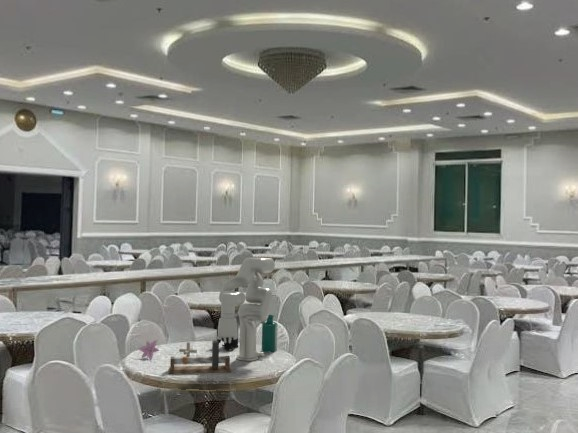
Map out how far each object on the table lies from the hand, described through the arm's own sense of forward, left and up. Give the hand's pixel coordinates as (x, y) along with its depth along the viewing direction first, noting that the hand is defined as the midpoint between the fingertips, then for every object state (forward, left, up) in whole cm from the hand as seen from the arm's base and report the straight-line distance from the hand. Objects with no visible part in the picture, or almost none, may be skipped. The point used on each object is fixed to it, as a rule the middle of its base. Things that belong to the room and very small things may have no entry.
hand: (227, 350), depth 329 cm
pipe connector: (+20, -24, -11) cm, 33 cm away
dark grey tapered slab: (+6, 0, -9) cm, 11 cm away
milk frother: (-6, -52, -11) cm, 53 cm away
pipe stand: (+14, 0, -11) cm, 18 cm away
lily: (+42, -31, -11) cm, 54 cm away
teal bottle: (-29, -44, -11) cm, 54 cm away
